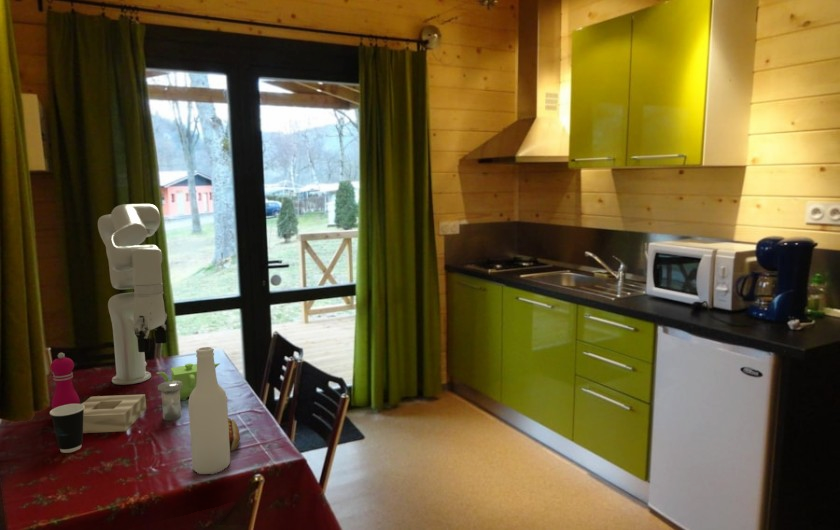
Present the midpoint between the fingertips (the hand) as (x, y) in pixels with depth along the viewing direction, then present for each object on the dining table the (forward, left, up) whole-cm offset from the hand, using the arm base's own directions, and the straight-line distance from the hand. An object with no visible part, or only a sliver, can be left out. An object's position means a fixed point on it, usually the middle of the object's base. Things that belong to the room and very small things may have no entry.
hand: (153, 347), depth 169 cm
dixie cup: (+18, -16, -22) cm, 33 cm away
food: (+19, +25, -23) cm, 38 cm away
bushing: (-1, +4, -22) cm, 22 cm away
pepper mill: (-5, -28, -22) cm, 36 cm away
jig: (0, -14, -22) cm, 26 cm away
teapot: (-20, +4, -22) cm, 30 cm away
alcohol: (+33, +24, -22) cm, 46 cm away
